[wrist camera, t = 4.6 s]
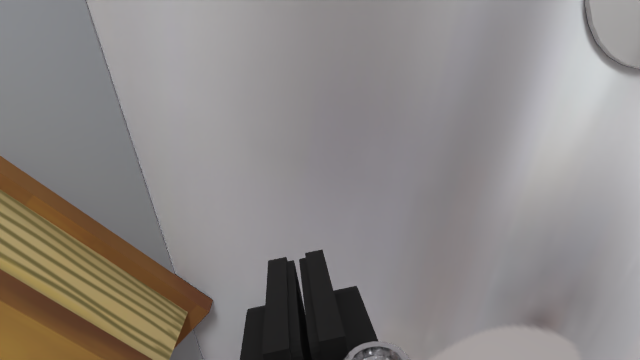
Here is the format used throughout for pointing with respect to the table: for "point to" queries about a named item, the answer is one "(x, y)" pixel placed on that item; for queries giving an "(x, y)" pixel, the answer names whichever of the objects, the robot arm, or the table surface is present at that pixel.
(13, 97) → the display board
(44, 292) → the diary
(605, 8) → the wineglass
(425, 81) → the table surface
